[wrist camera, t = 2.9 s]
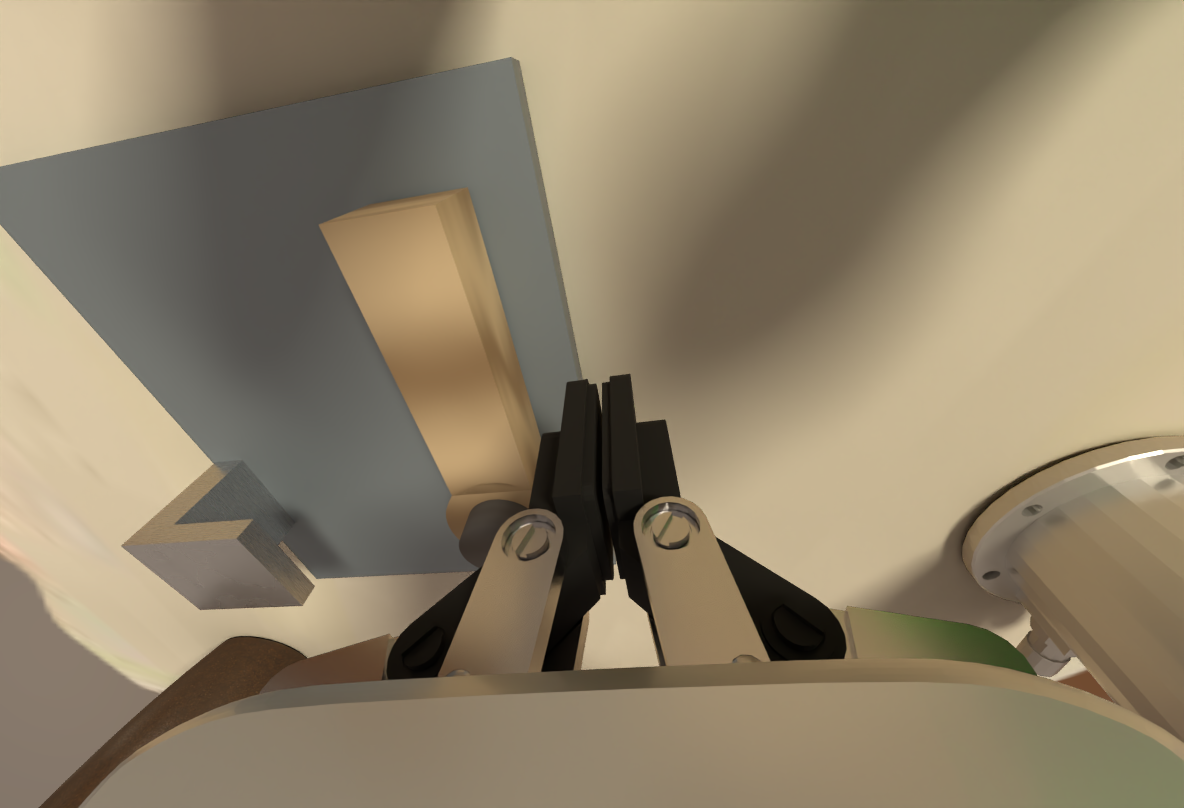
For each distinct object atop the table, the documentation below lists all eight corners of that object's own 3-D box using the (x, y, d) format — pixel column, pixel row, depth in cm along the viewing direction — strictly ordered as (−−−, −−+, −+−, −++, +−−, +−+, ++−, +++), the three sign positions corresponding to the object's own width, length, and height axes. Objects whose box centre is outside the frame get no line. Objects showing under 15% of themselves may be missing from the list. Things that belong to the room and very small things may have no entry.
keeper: (367, 502, 25) (302, 605, 20) (284, 508, 26) (200, 609, 21) (325, 438, 23) (236, 538, 17) (233, 447, 23) (120, 546, 18)
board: (616, 547, 27) (615, 564, 26) (326, 562, 29) (316, 578, 28) (519, 60, 13) (510, 56, 12) (-2, 171, 16) (-43, 176, 15)
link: (577, 507, 23) (569, 583, 19) (483, 513, 23) (458, 588, 20) (492, 182, 14) (447, 209, 10) (346, 208, 14) (257, 242, 11)
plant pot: (384, 689, 41) (274, 962, 28) (256, 695, 44) (101, 947, 31) (286, 605, 33) (66, 935, 20) (136, 619, 35) (-146, 919, 22)
